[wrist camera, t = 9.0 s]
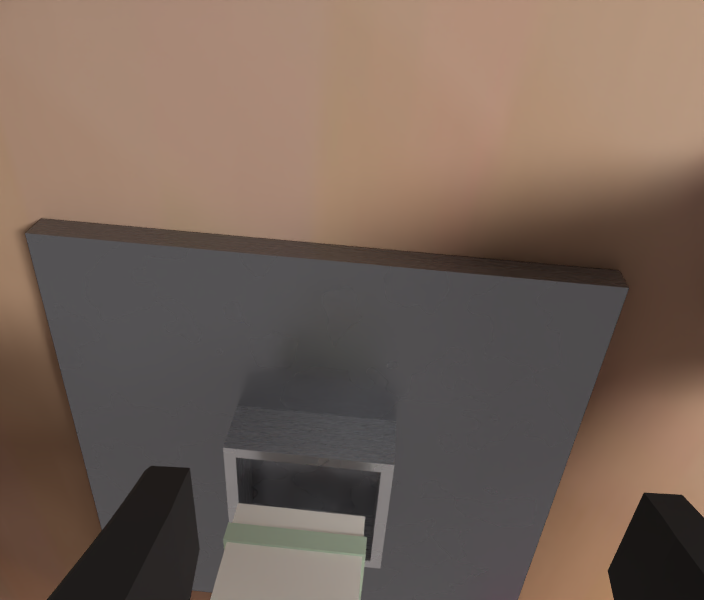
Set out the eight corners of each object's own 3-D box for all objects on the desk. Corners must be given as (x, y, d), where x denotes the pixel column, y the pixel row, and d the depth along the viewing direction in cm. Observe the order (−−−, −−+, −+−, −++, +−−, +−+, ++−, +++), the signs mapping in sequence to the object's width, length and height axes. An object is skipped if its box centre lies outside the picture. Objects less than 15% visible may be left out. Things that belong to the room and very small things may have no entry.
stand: (619, 270, 19) (660, 346, 16) (506, 604, 29) (517, 691, 26) (41, 218, 20) (-30, 281, 17) (123, 562, 30) (89, 642, 27)
